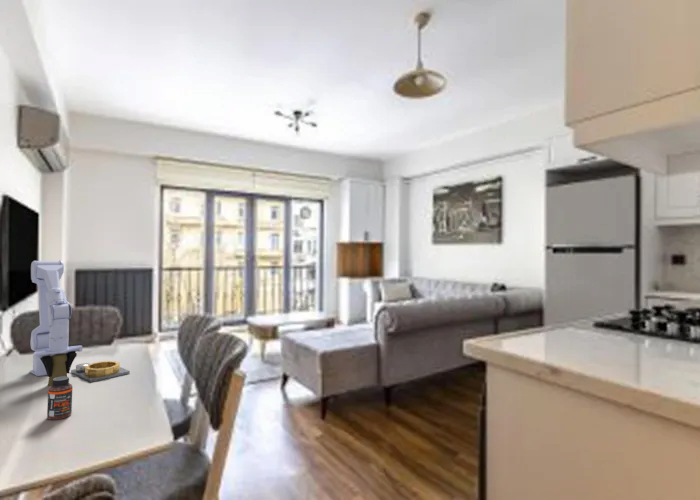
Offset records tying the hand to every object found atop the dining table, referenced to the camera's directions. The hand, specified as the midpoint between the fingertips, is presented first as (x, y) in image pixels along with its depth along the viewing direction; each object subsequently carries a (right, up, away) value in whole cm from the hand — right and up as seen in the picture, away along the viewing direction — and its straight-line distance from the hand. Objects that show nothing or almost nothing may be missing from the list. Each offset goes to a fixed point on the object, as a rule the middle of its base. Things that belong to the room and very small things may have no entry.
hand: (58, 374), depth 147 cm
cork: (0, -4, 0) cm, 4 cm away
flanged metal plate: (+7, -4, +13) cm, 16 cm away
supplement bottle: (+20, -4, -27) cm, 34 cm away
